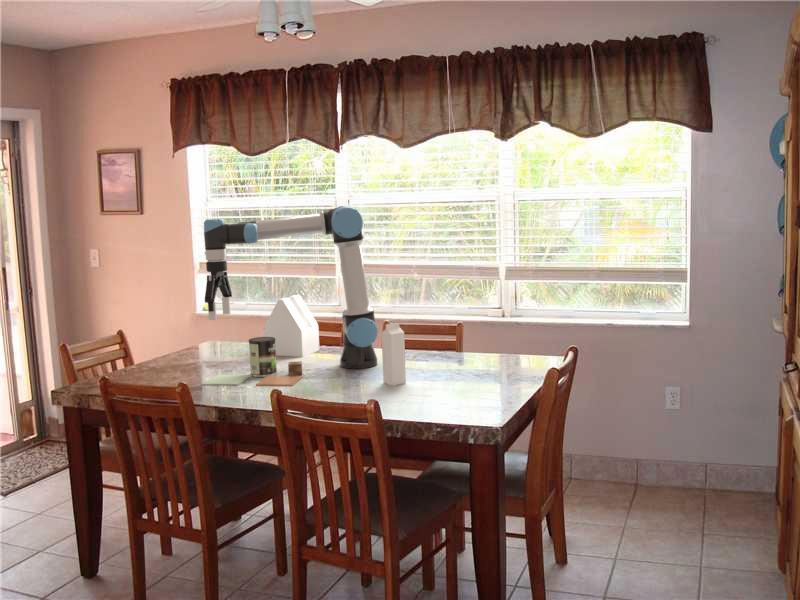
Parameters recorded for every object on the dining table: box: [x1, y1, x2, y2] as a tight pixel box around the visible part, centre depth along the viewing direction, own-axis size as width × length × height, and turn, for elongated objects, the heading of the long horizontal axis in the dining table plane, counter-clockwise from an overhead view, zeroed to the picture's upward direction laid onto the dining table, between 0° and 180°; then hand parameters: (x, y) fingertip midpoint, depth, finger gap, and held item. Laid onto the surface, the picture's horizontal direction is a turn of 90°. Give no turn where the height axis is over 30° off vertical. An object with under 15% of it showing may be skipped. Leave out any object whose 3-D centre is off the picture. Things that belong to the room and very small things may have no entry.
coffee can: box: [248, 336, 278, 378], centre depth 307 cm, size 10×10×14 cm
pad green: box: [201, 374, 252, 386], centre depth 298 cm, size 14×14×1 cm
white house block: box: [262, 294, 320, 358], centre depth 348 cm, size 19×15×25 cm
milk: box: [381, 322, 407, 386], centre depth 285 cm, size 6×6×22 cm
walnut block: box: [287, 360, 303, 376], centre depth 304 cm, size 5×5×5 cm
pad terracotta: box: [255, 374, 304, 387], centre depth 295 cm, size 14×14×1 cm
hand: (219, 317), depth 294 cm, fingers open, 13 cm apart
